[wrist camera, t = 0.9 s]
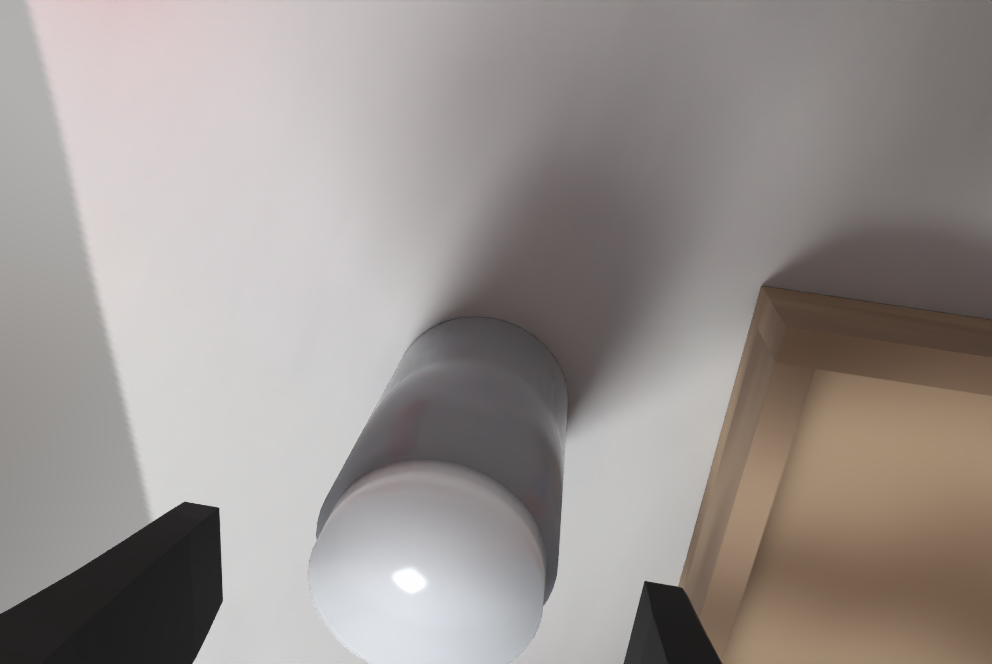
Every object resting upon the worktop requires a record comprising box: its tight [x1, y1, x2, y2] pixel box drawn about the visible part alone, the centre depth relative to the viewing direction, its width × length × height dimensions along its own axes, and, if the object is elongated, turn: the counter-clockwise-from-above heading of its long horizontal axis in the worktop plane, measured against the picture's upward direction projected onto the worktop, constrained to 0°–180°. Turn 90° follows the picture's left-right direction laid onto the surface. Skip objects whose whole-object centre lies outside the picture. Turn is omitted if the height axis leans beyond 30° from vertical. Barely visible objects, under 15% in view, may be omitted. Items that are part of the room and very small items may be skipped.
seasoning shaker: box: [308, 317, 568, 664], centre depth 16 cm, size 4×4×7 cm
